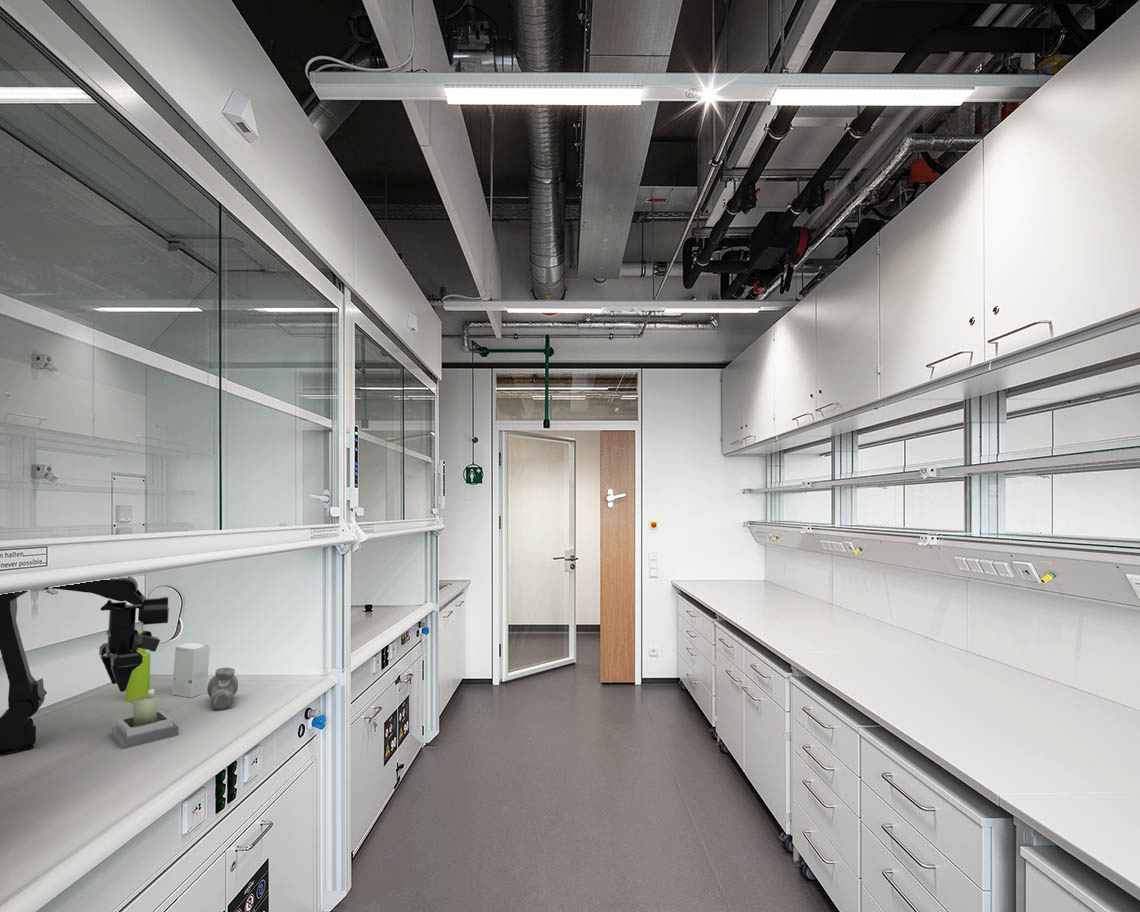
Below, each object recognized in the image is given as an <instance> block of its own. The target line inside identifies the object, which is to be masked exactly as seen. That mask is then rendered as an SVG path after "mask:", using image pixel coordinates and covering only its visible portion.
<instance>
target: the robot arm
mask: <svg viewBox="0 0 1140 912" xmlns="http://www.w3.org/2000/svg"><path fill="white" fill-rule="evenodd" d="M138 587H139V585H138V582H137V580H136V579H135V578H133V577H132V576H128V578H119V579H110V580H100V581H93V582H86V583H80V584H74V585H66V586H60V587H53V588H51V589H54V590H62V591H68V592H69V591H72V592H80V593H81V592H82V593H88V594H94V595H98V596H99V597H103V598H105V599H108V600H107V601H106V603H105V604H103V605H102V606H101V608H100V611H109V614H108V615H109V616H108V629H107V630H106V636H107V642H105V643H103V644H101V645H100V646H99V651H98V655H99V656H100V657H99V658H100V659H101V662H102V664H103V665H104V668H105V670H106V673H107V676H108V677H109V679H110V682H111V684H112V685H115V684H116V685H117V687H118V690H119V692H120V693H122V692H123V693H124V692H126V688H127V685H128V682H129V679H130V676H131V673H132V671H133V670H134V669H135V668H136V667H138V666H140V664H141V663H143V655H141V654H140V653H139V652H137V651H136V650H138V648H142V649H146V650H147V651H150V652H156V651H157V649H158V646H159V645H160V644H159V643H160V641H161V639H160V638H158V637H156V636H153V635H152V631H150V630H142V631H143V632H142V633H141V634H138V631H139V630H137V629H136V617H137V616H138V618H137V619H138V622H140V623H142V625H143V626H145V625H147V626H148V625H157V624H159V625H160V624H168V623H169V615H170V613H169V612H170V607H169V597H168V596H164V597H159V598H157V597H156V598H155V597H154V598H146V597H145V595H144V594H143V593H142V592H141V591H140V589H139V588H138ZM28 592H29V591H22V592H15V593H8V594H2V595H0V655H1V659H2V662H3V665H4V669H5V673H6V676H7V680H8V684H9V685H8V693H7V694H8V697H7V701H8V702H7V705H8V709H6V710H5V711H4V712H3V713H2V715H1V716H0V756H4V755H5V756H6V755H9V754H14V753H17V752H22V751H26V750H31V749H34V747H35V744H36V742H37V741H36V739H37V726H36V724H34V720H33V718H32V716H34V715H35V714H36V713H37V712H38V711H39V709H40V708H41V706H42V705H43V704H44V701H45V697H46V695H47V694H48V692H47V690H46V689H45V687H44V679H43V678H39V679H37V680H36V679H35V678H34V676H33V675H32V673H31V670H30V666H29V664H28V663H29V662H28V659H27V655H26V652H25V648H24V645H23V642H22V638H21V634H20V630H19V626H18V623H17V615H18V598H19V597H21V596H23V595H24V594H26V593H28ZM112 600H113V601H112ZM115 601H116V602H115ZM127 603H129V604H127ZM137 609H138V614H137ZM136 615H137V616H136Z"/></svg>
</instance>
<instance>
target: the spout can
mask: <svg viewBox="0 0 1140 912" xmlns="http://www.w3.org/2000/svg"><path fill="white" fill-rule="evenodd" d="M157 711H158V696H157V695H155V688H149V690H148V696H144V697H139V698H136V699H135V700H134V702H133V713H132V714H133V727H135V726H140V725H144V724H149V723H153V722H156V720H157Z"/></svg>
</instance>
